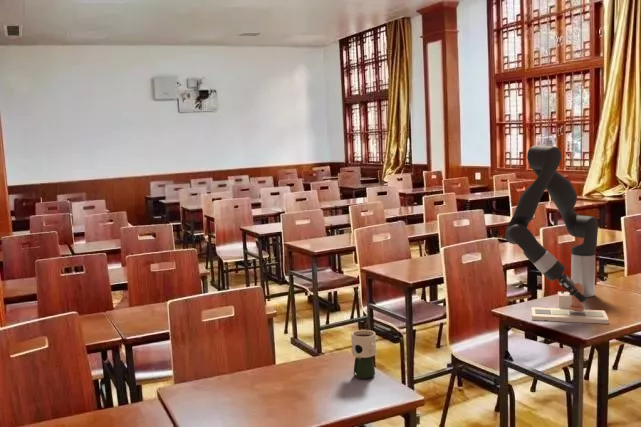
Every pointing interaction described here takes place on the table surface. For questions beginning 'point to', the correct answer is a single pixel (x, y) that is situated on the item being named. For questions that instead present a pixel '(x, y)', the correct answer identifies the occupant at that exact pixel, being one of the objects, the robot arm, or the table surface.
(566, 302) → the die
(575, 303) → the pawn
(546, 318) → the game board
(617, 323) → the table surface
